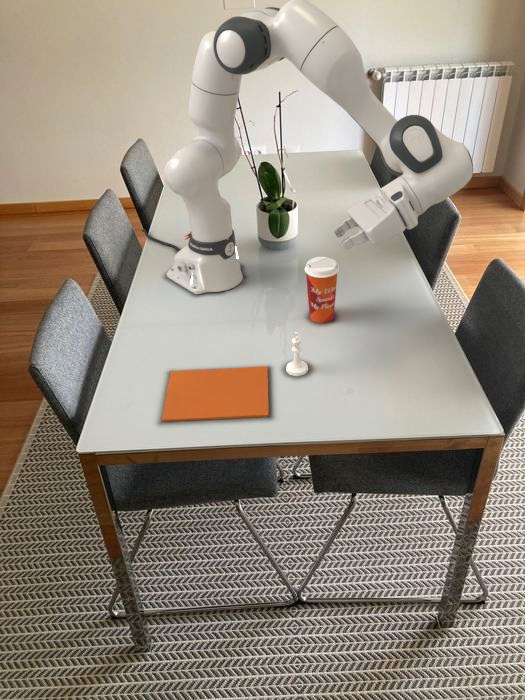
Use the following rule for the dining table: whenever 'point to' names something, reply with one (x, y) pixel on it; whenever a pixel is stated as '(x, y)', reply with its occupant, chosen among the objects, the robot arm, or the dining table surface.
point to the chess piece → (296, 360)
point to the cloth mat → (217, 394)
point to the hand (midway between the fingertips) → (339, 239)
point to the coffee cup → (321, 288)
